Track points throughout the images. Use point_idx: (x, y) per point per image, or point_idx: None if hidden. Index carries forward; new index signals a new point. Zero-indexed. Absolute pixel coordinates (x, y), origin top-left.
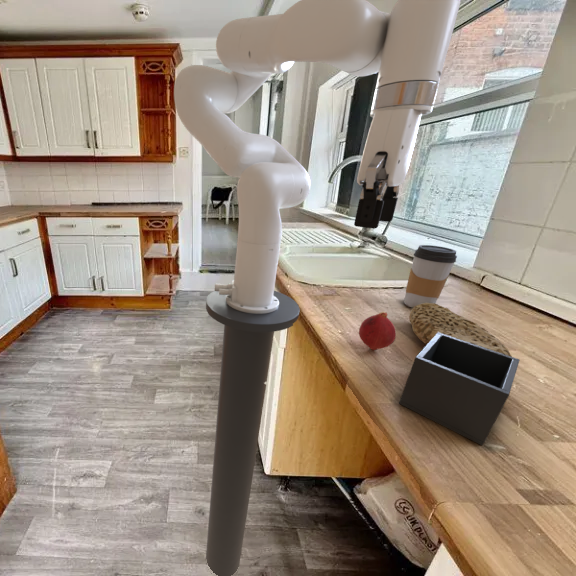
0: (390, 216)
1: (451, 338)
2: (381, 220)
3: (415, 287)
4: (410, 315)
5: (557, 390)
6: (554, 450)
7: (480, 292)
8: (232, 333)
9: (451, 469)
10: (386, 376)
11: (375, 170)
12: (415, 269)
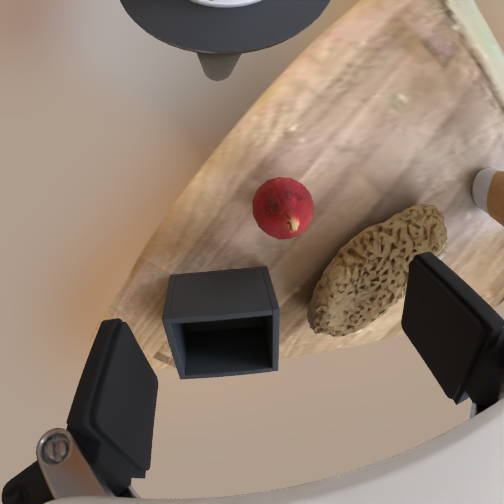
0: (412, 337)
1: (273, 323)
2: (405, 297)
3: (497, 192)
4: (413, 209)
5: (348, 342)
6: None
7: None
8: None
9: (130, 326)
10: (215, 242)
11: None
12: None
